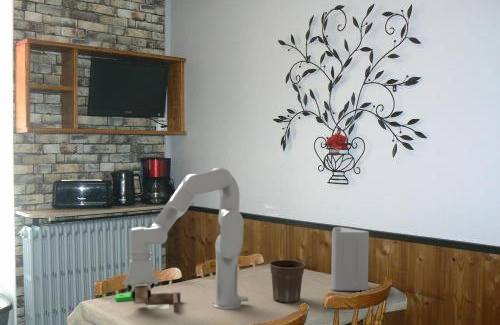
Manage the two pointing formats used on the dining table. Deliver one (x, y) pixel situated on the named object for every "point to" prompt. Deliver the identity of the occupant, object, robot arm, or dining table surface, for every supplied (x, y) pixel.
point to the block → (141, 293)
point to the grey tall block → (349, 259)
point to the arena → (164, 300)
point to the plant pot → (286, 280)
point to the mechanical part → (124, 297)
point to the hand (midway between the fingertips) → (141, 299)
